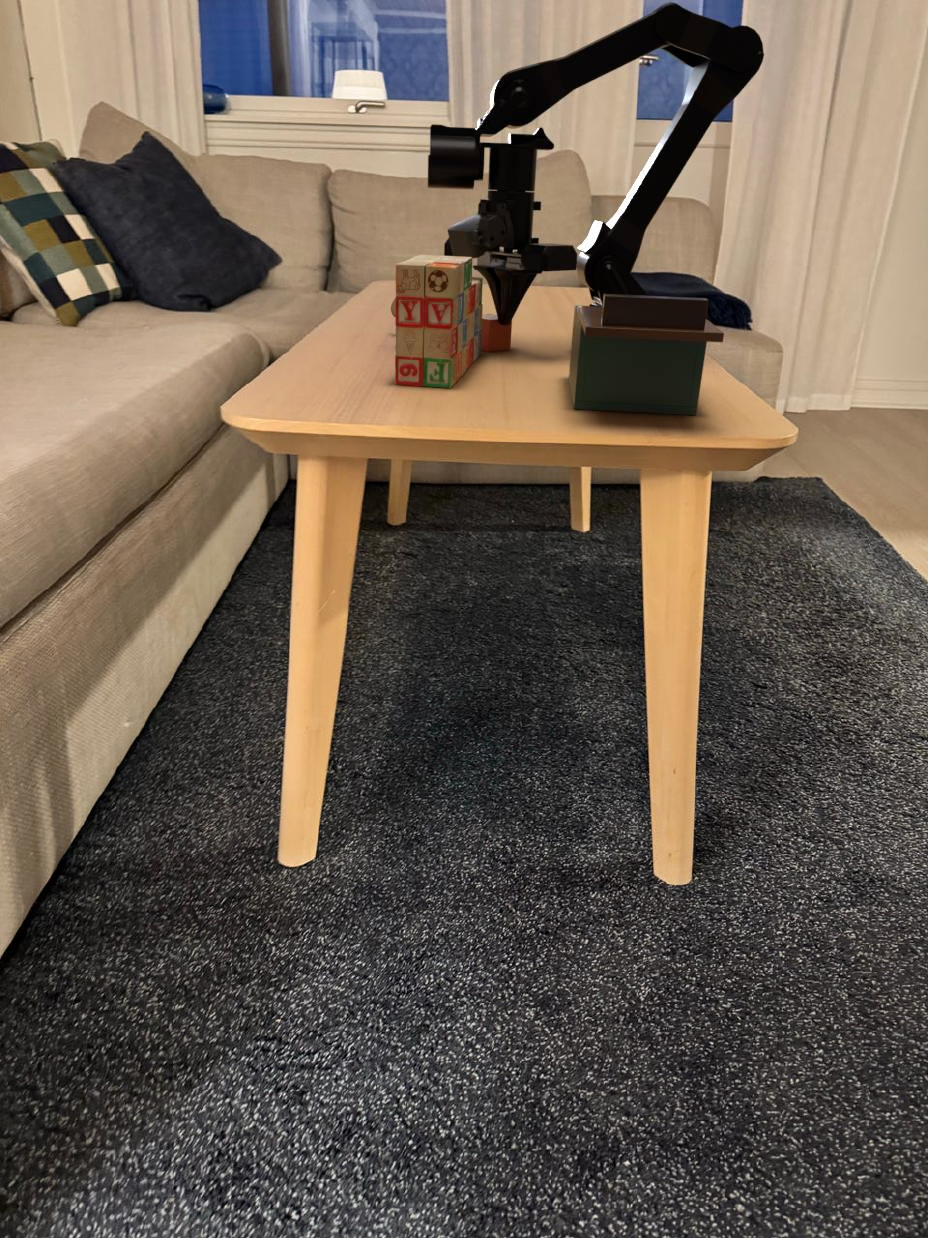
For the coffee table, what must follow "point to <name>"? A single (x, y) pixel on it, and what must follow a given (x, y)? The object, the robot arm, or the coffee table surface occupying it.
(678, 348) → the box
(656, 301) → the lid
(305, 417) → the coffee table surface
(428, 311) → the stack of blocks
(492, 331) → the block
